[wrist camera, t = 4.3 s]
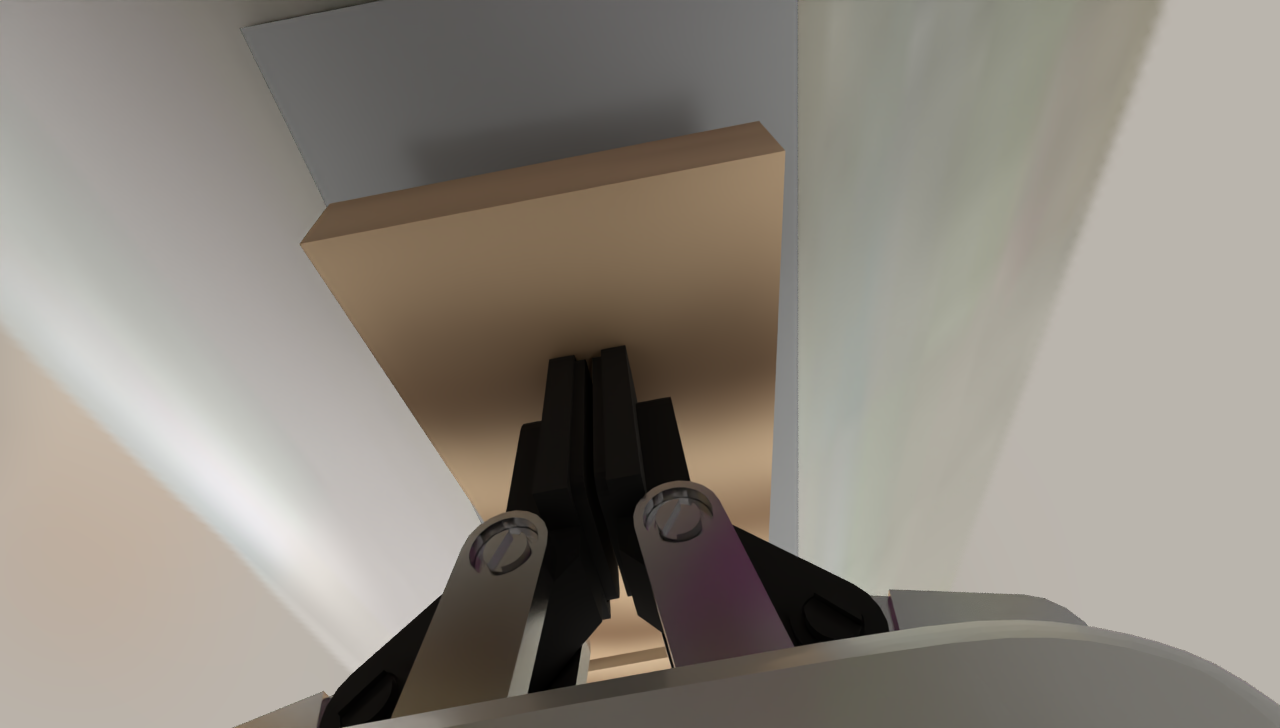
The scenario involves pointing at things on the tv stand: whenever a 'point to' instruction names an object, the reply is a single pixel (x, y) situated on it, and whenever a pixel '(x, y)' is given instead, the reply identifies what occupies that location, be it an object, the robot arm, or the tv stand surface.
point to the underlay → (543, 109)
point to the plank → (579, 307)
